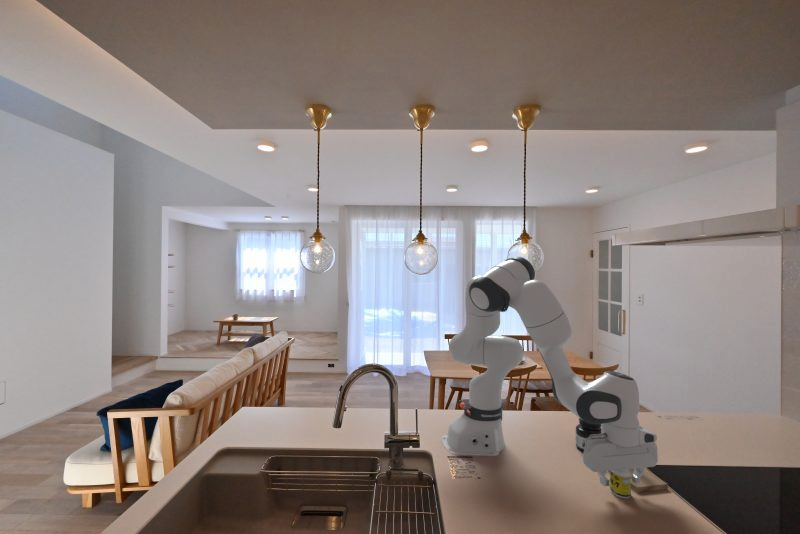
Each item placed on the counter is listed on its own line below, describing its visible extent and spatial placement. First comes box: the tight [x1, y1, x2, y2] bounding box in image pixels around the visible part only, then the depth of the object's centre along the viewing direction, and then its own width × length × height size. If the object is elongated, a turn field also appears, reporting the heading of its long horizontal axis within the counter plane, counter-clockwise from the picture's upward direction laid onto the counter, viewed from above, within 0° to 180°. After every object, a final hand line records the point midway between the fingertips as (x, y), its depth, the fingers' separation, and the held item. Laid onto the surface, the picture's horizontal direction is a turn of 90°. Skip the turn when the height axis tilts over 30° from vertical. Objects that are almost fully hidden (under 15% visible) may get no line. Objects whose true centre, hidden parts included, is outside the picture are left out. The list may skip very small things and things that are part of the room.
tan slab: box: [608, 468, 669, 494], centre depth 99 cm, size 10×10×2 cm
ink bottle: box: [575, 417, 601, 453], centre depth 117 cm, size 10×9×12 cm
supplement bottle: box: [609, 469, 632, 499], centre depth 93 cm, size 5×5×8 cm
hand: (620, 483), depth 92 cm, fingers open, 8 cm apart
